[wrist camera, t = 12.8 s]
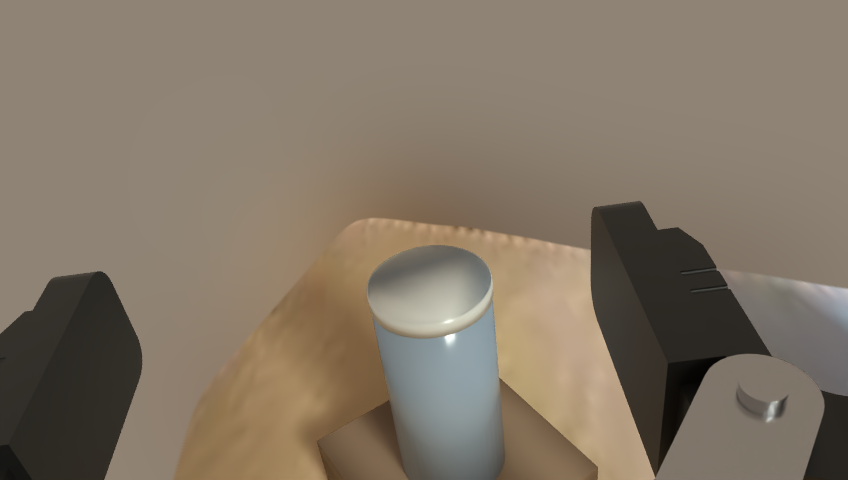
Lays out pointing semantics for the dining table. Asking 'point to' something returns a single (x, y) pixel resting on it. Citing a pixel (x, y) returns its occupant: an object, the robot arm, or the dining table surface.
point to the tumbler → (440, 361)
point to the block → (523, 437)
